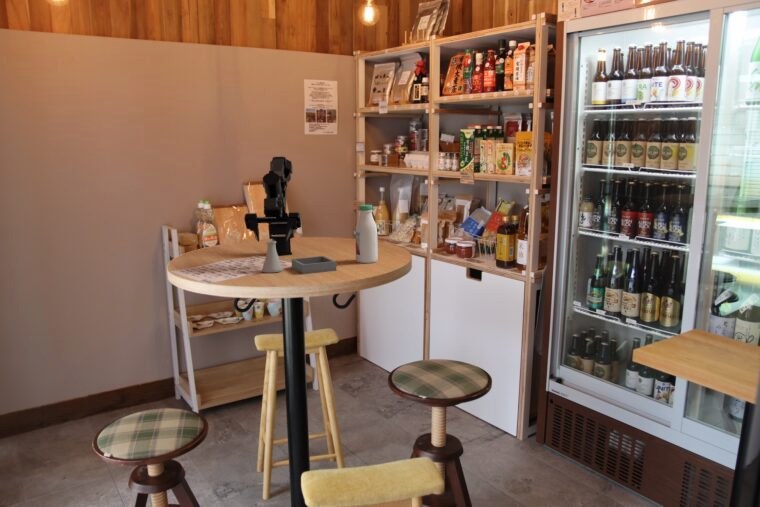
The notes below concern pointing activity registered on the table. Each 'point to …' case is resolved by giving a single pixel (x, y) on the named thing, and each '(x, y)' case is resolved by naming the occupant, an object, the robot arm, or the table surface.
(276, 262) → the flask
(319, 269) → the box
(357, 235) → the milk bottle
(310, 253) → the table surface
